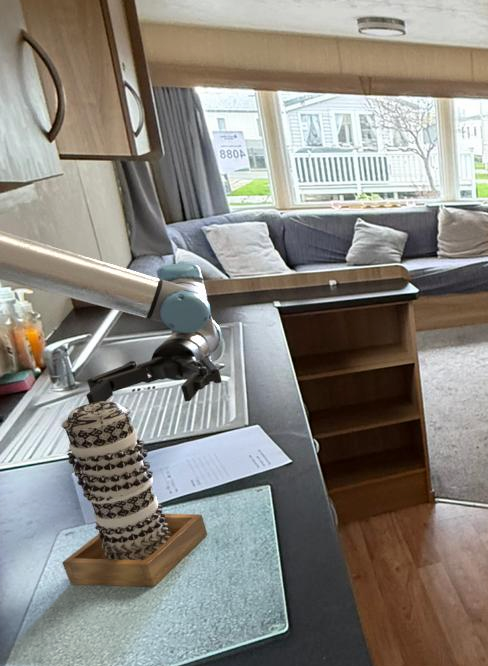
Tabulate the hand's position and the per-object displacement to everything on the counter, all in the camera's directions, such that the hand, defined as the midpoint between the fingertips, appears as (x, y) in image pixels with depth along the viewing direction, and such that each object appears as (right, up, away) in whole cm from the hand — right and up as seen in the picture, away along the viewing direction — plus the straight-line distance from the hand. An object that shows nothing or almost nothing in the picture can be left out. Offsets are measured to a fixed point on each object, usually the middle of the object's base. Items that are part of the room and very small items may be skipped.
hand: (139, 398), depth 106 cm
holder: (+3, -25, -4) cm, 26 cm away
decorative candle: (+3, -24, -4) cm, 25 cm away
